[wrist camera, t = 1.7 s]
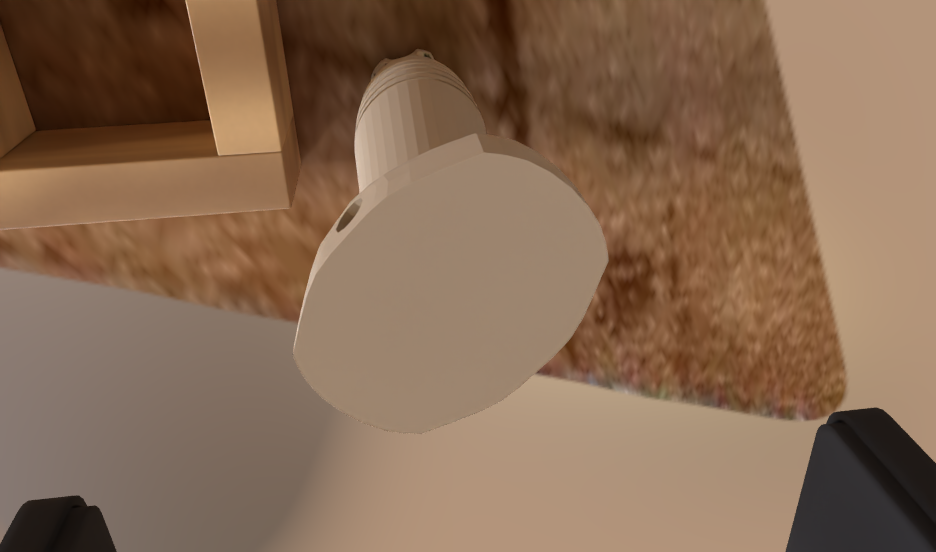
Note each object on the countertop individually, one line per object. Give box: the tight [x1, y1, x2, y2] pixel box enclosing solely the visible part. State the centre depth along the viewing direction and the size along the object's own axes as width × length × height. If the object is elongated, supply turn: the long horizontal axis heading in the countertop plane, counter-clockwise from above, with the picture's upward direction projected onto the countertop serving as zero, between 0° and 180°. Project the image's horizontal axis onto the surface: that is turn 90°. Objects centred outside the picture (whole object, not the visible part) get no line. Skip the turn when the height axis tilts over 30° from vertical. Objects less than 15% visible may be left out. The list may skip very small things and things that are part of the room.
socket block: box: [0, 0, 301, 230], centre depth 23 cm, size 11×11×4 cm
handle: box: [293, 49, 609, 434], centre depth 20 cm, size 5×6×15 cm
